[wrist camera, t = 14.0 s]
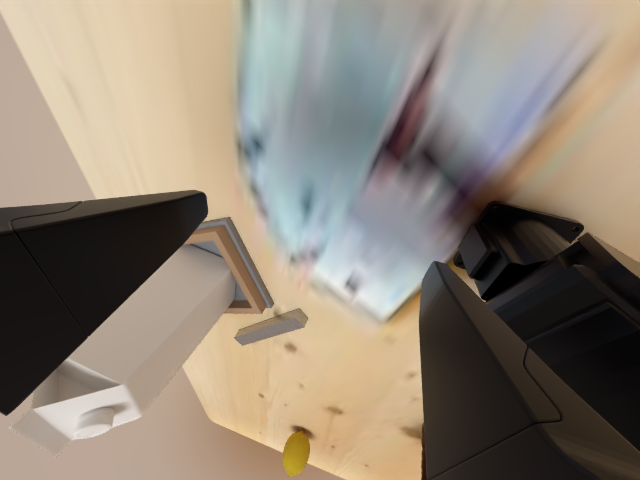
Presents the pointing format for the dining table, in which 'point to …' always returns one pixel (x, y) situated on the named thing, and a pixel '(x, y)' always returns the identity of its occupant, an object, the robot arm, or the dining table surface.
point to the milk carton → (131, 352)
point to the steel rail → (272, 327)
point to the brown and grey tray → (234, 264)
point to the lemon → (296, 453)
